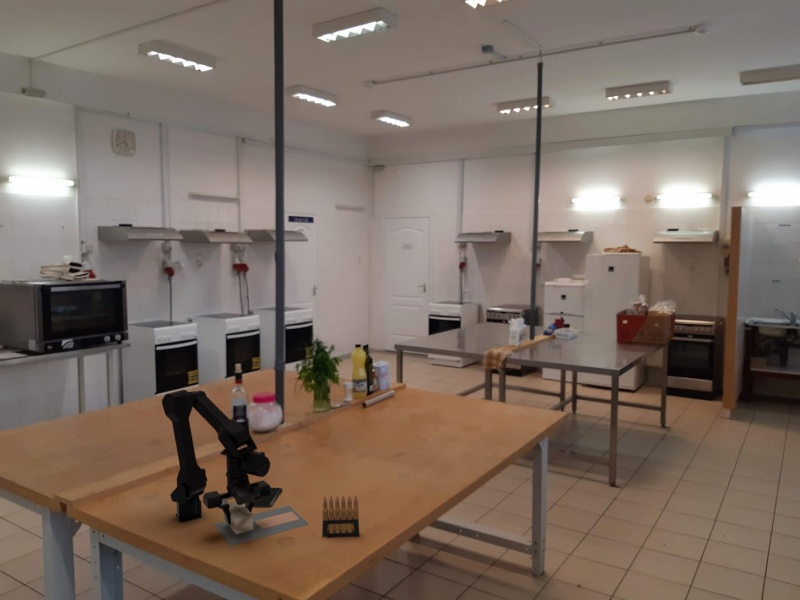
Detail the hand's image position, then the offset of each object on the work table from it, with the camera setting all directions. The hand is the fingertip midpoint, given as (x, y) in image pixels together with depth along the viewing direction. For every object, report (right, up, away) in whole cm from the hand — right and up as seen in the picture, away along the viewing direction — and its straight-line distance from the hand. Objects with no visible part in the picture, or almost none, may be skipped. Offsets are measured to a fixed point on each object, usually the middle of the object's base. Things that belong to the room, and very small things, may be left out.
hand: (238, 522), depth 178 cm
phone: (+3, -1, +24) cm, 24 cm away
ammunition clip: (+30, -3, -3) cm, 31 cm away
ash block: (0, -1, 0) cm, 1 cm away
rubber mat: (+6, -2, +4) cm, 8 cm away
